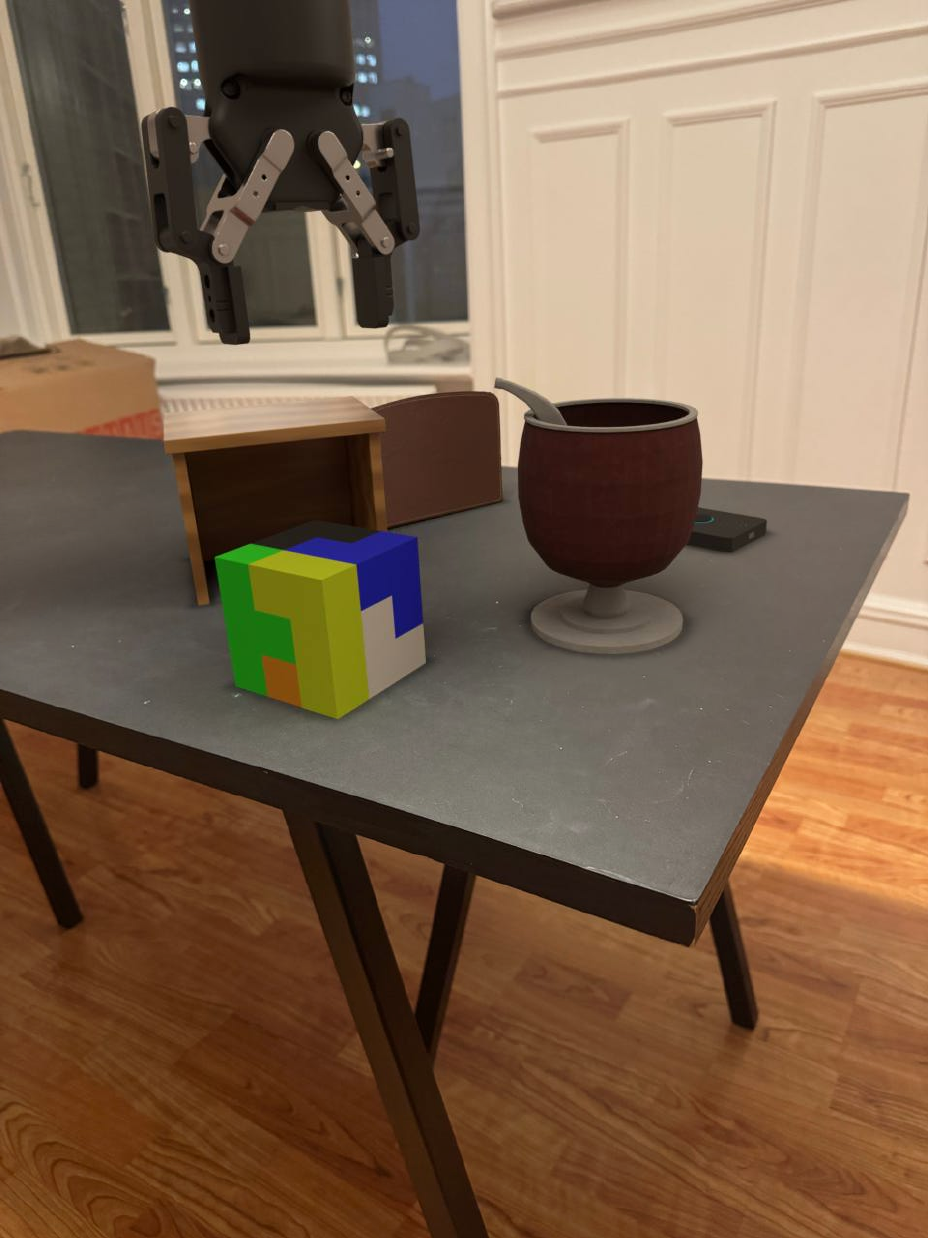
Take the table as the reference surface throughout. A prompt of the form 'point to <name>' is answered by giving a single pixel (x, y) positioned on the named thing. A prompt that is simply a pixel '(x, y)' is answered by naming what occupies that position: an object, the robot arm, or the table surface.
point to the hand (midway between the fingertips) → (307, 335)
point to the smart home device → (725, 530)
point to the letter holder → (440, 455)
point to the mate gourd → (607, 512)
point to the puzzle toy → (323, 614)
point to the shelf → (273, 472)
